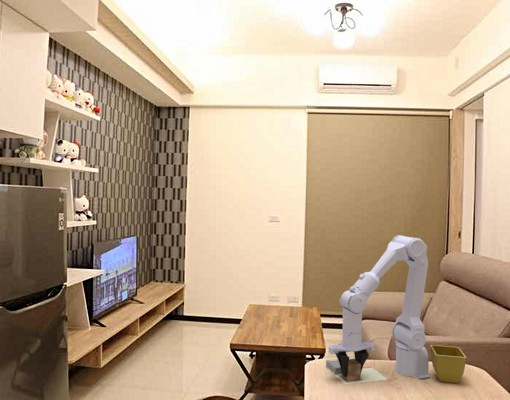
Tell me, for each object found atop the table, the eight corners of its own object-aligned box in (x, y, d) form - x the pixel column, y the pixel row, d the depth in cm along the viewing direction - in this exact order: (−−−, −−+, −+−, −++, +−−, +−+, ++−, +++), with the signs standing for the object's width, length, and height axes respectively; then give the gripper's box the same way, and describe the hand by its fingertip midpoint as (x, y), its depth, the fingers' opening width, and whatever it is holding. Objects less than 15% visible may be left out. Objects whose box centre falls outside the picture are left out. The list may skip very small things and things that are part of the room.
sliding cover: (346, 364, 141) (347, 357, 141) (356, 372, 134) (356, 365, 134) (326, 366, 139) (326, 359, 139) (335, 374, 132) (335, 367, 132)
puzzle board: (363, 363, 144) (363, 360, 144) (387, 382, 130) (387, 378, 130) (323, 368, 140) (323, 364, 140) (344, 387, 126) (344, 383, 126)
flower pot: (466, 387, 128) (466, 357, 127) (435, 384, 129) (435, 354, 129) (458, 374, 136) (459, 346, 136) (429, 372, 138) (430, 344, 138)
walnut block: (353, 377, 133) (354, 358, 133) (360, 383, 129) (360, 363, 129) (342, 379, 132) (342, 359, 132) (348, 384, 128) (348, 364, 128)
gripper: (366, 325, 136) (365, 367, 136) (324, 328, 132) (323, 371, 132) (378, 332, 129) (377, 376, 129) (334, 335, 125) (334, 381, 125)
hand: (351, 375), depth 130 cm, fingers closed on walnut block, 4 cm apart
